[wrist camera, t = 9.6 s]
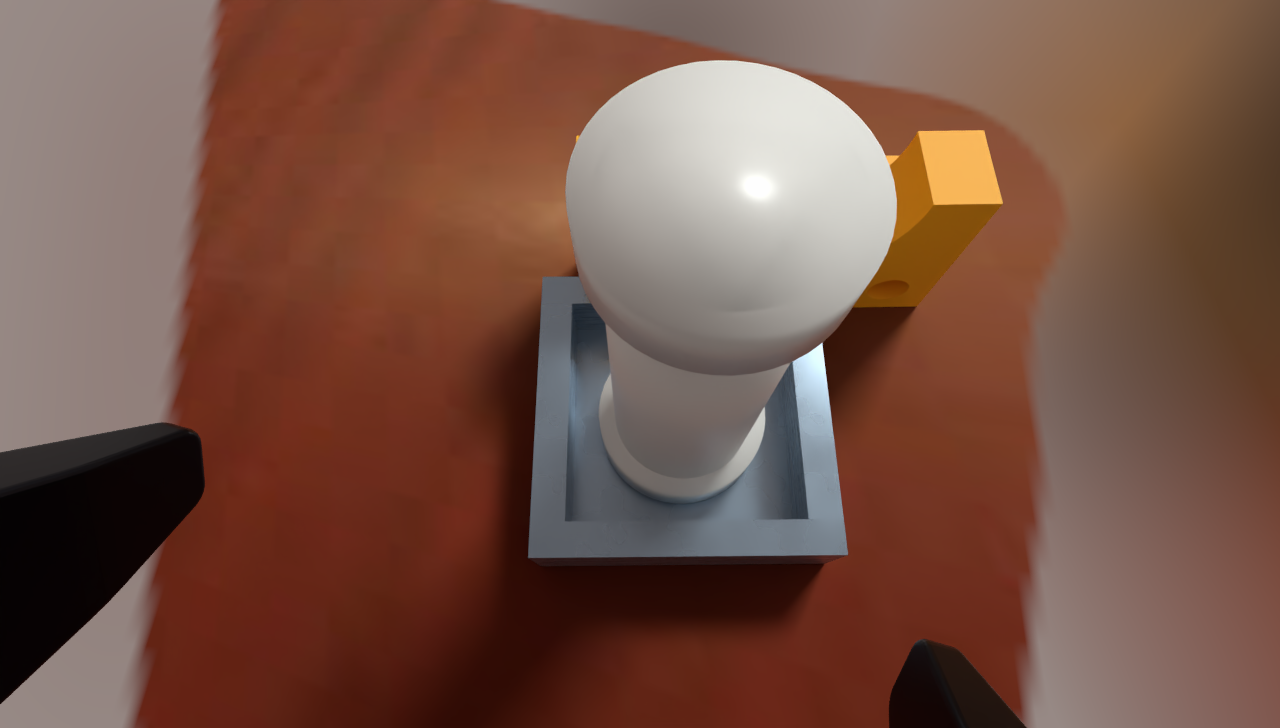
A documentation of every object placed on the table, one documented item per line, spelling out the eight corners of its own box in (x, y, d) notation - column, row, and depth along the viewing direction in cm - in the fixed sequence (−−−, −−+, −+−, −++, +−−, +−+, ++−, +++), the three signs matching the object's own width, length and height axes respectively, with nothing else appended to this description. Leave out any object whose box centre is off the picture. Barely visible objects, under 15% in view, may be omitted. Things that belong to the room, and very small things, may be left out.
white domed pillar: (730, 527, 21) (858, 395, 9) (577, 471, 22) (502, 276, 10) (775, 381, 23) (933, 106, 11) (633, 333, 23) (629, 22, 11)
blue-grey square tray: (825, 563, 21) (848, 554, 19) (540, 566, 21) (527, 558, 19) (797, 308, 24) (813, 274, 22) (551, 310, 24) (542, 276, 22)
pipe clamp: (896, 209, 26) (971, 84, 20) (914, 308, 25) (1002, 203, 19) (592, 213, 26) (577, 89, 20) (591, 312, 25) (574, 209, 19)
